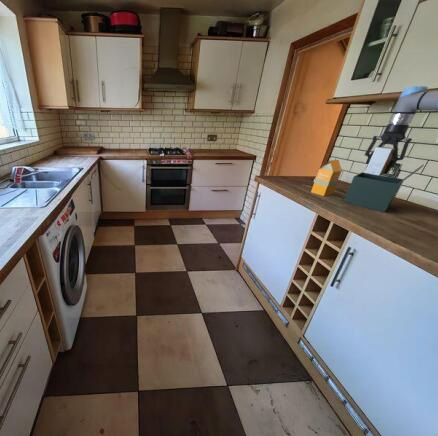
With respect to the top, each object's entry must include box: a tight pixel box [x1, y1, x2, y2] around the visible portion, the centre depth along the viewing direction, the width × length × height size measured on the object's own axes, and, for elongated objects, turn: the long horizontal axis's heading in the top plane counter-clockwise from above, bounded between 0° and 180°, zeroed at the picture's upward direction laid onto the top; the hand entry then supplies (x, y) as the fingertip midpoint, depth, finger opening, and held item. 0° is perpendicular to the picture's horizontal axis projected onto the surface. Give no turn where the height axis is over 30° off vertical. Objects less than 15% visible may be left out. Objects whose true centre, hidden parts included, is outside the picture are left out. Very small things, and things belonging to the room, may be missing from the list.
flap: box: [400, 164, 424, 183], centre depth 108 cm, size 8×16×1 cm
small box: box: [364, 146, 400, 176], centre depth 115 cm, size 8×6×13 cm
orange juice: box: [310, 159, 343, 197], centre depth 134 cm, size 8×9×20 cm
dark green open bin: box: [342, 171, 404, 213], centre depth 121 cm, size 17×16×14 cm
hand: (376, 171), depth 118 cm, fingers closed on small box, 7 cm apart
